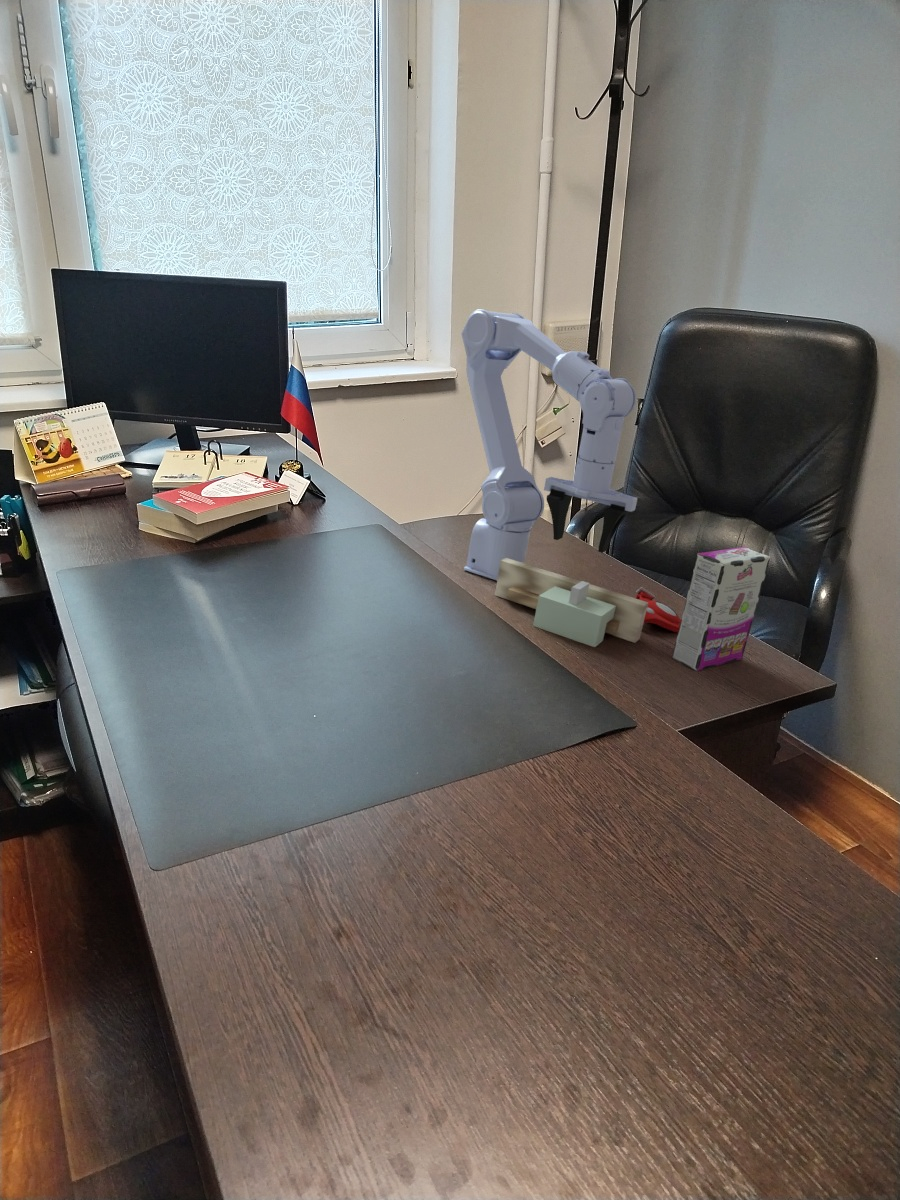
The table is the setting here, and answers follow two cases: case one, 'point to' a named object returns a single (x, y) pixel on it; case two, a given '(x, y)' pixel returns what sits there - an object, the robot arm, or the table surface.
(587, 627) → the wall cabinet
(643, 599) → the tracker holder
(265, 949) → the table surface
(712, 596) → the candy bar box
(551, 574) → the wall board
